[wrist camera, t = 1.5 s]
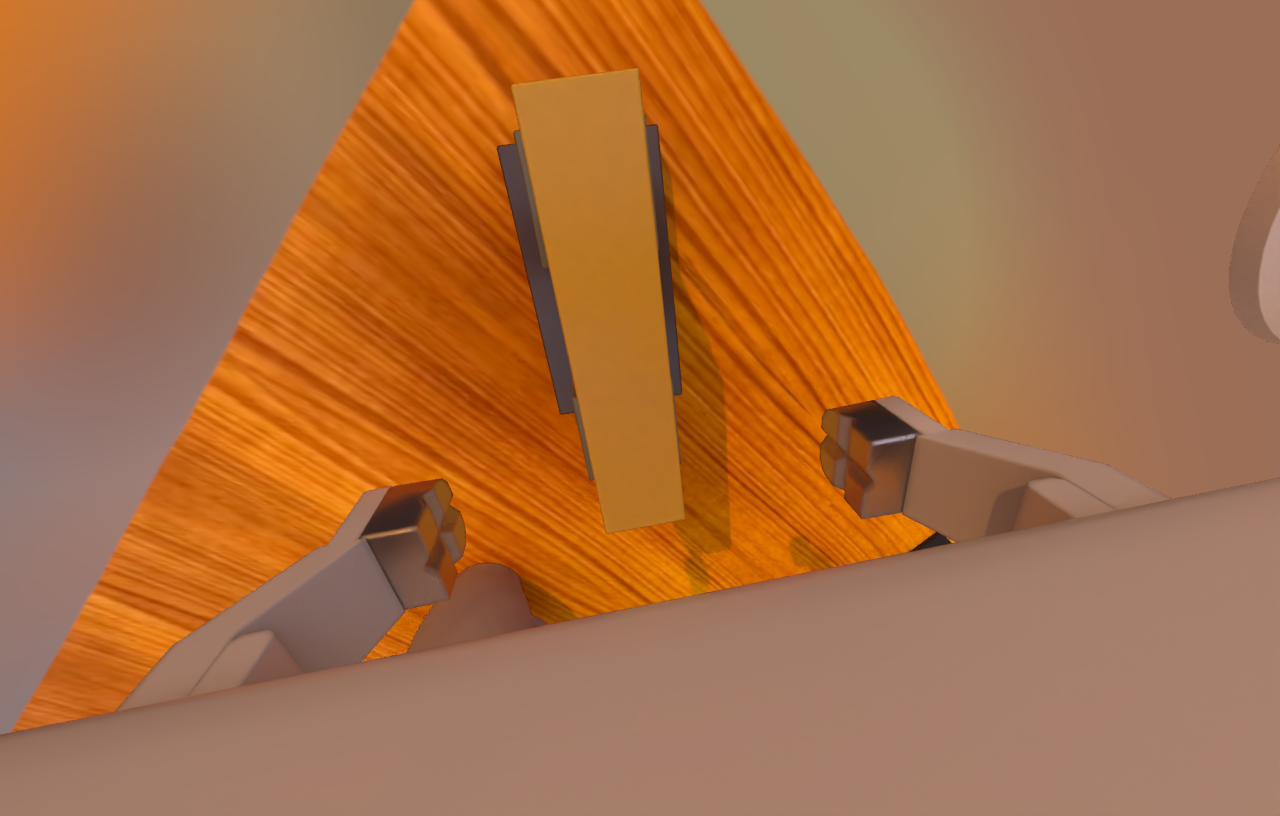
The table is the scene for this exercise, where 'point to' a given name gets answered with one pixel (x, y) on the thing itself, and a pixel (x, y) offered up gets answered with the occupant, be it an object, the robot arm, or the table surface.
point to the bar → (607, 283)
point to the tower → (542, 282)
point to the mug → (477, 609)
